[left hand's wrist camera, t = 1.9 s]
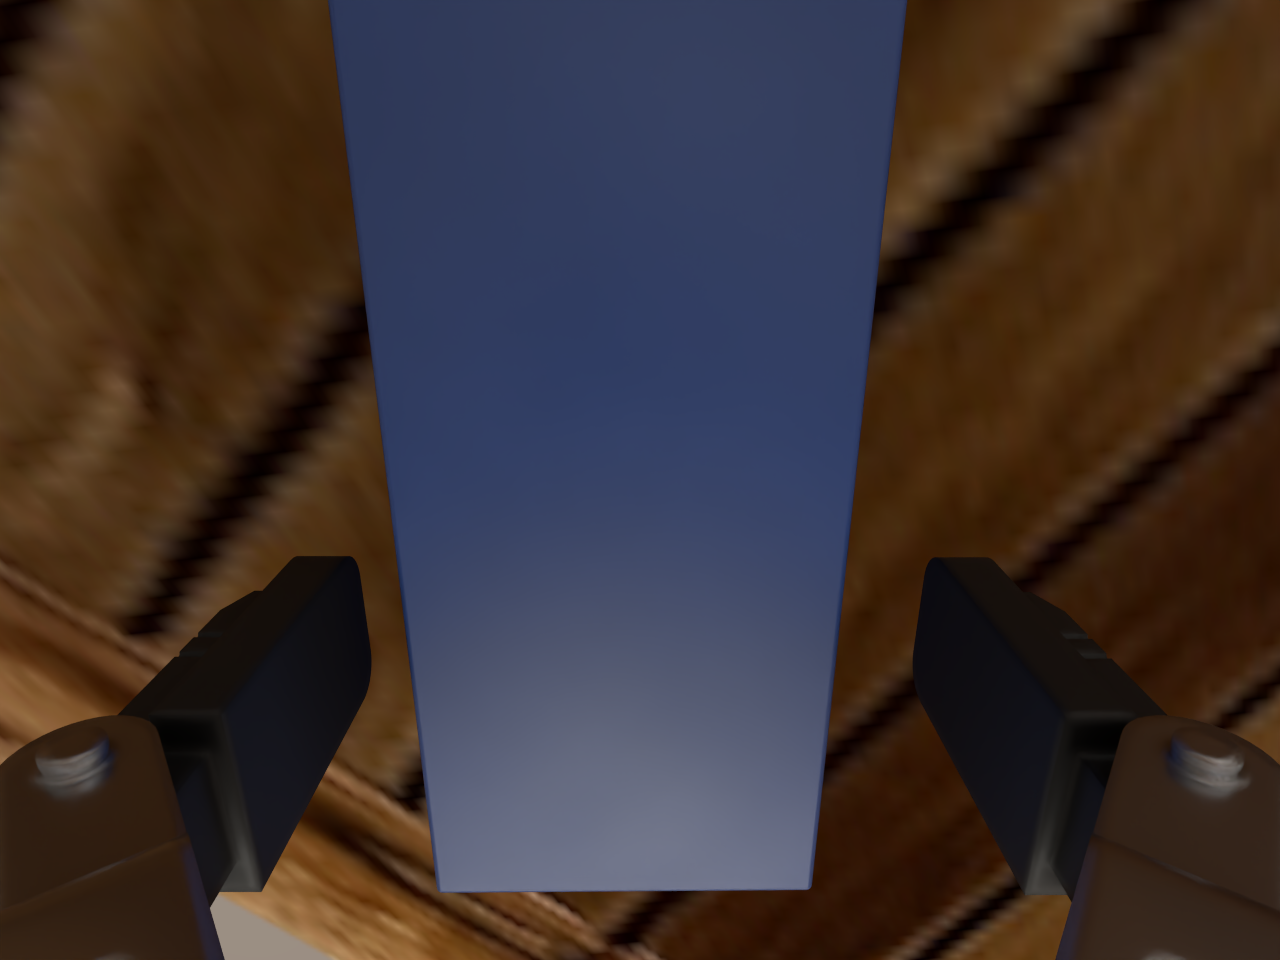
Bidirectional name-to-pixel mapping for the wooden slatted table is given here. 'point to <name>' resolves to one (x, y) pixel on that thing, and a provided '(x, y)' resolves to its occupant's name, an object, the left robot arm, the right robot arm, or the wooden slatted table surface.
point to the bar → (620, 413)
